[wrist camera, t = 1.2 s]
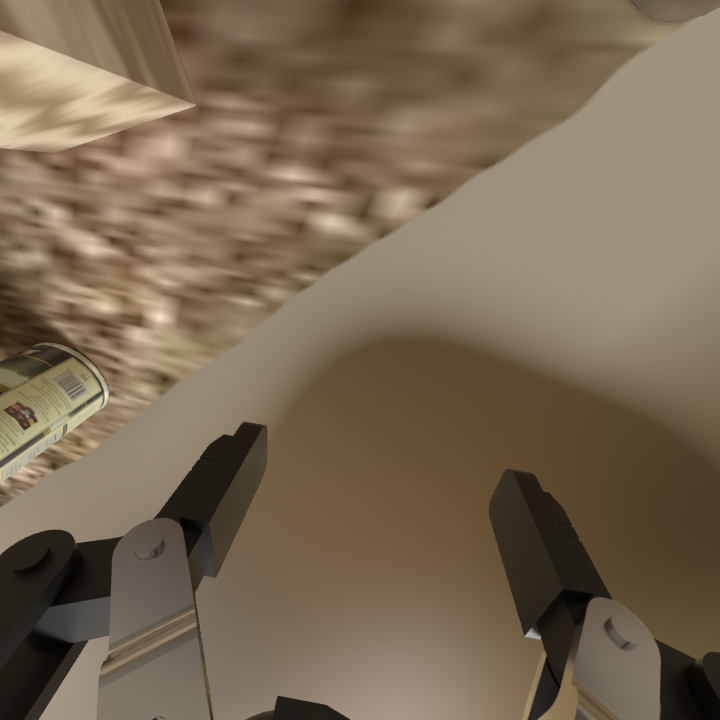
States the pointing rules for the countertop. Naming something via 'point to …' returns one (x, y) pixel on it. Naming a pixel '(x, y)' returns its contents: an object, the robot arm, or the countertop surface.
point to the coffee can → (44, 400)
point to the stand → (84, 71)
